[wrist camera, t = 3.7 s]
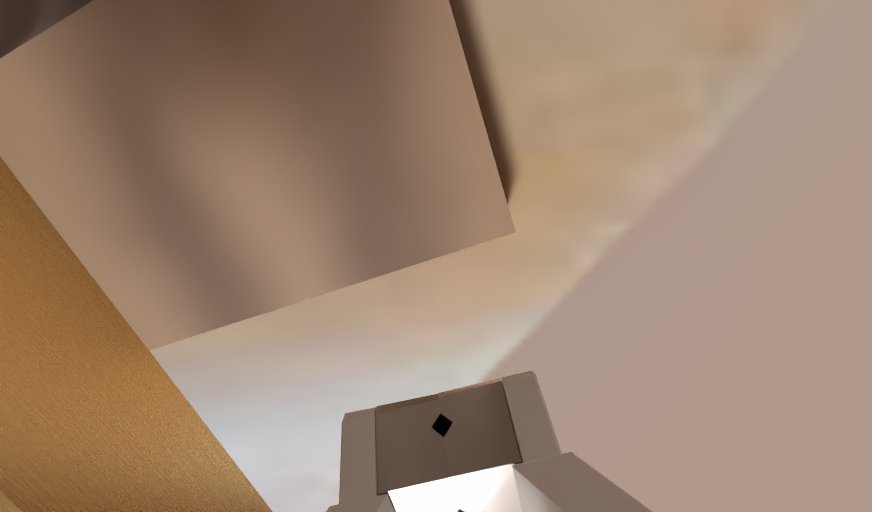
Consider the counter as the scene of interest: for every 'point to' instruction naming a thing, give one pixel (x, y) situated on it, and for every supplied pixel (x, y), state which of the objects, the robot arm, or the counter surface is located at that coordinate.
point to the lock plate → (244, 147)
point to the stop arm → (90, 393)
